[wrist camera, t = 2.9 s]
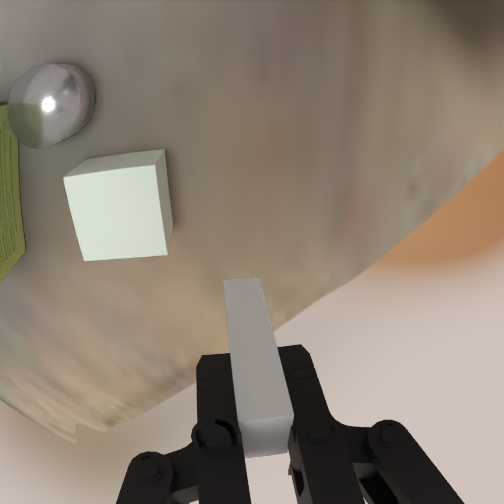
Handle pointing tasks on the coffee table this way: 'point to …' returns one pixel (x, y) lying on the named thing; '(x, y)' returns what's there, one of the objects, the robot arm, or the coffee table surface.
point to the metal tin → (50, 104)
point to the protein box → (9, 198)
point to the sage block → (121, 205)
